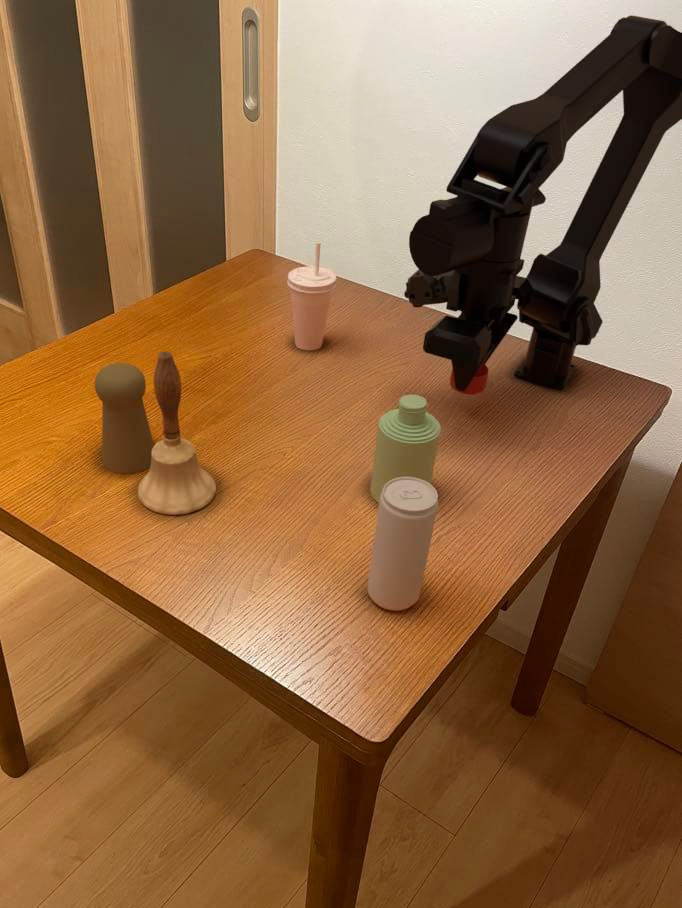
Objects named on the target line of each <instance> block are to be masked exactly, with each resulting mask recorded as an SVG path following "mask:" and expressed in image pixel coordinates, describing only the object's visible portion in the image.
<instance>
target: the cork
mask: <svg viewBox="0 0 682 908" xmlns="http://www.w3.org/2000/svg"><path fill="white" fill-rule="evenodd" d="M94 379H95V380H94V390H95V393H96V395H97V397H98V399H99V400H100V401H101V403H102V408H101V409H102V420H101V421H102V425H101V428H102V429H101V430H102V431H101V445H102V446H101V462H102V465H103V466H104V467H105V468H106V469H107V470H109V471H111V472H113V473H116V474H122V475H123V474H124V475H130V474H137V473H141V472H144V471H146V470H147V469H150V467H151V457H152V455H151V453H152V449H153V447H154V445H155V443H154V439H153V435H152V433H151V428H150V423H149V420H148V416H147V412H146V408H145V405H144V401H143V397H144V396H145V394H146V388H147V386H146V378H145V375H144V374H143V372H142V371H141V369H140V368H138V367H137V366H136V365H133V364H130V363H127V362H116V363H111V364H107V365H106V366H103V367H102V368H100V369H99V371H98V372H97V373H96V376H95V378H94Z"/></svg>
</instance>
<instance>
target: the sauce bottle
mask: <svg viewBox="0 0 682 908" xmlns="http://www.w3.org/2000/svg"><path fill="white" fill-rule="evenodd" d="M427 409H428V401H427V399H426V398H425V397H423V396H421V395H418V394H411V393H410V394H406V395H405V394H404V395H403V396H401V398H399V399H398V408H394V409H391V410H388V411H387V412H385V413H384V414H383V415H381V416H380V417H379V420H378V425H377V433H376V439H375V440H376V441H375V447H374V449H375V450H374V455H373V456H374V457H373V464H372V472H371V480H370V488H369V491H370V495H371V497H372V498H373V500H374V501H375V502H377V503H378V504H379V501H380V496H381V493H382V491H383V488H384V486H385V484H386V483H387V482H389V481H390V480H392V479H395V478H398V477H414V478H419V479H421V480H424V481H426V482H428V483H429V484H431V485H432V479H433V475H434V474H433V473H434V469H435V465H436V464H435V463H436V458H437V452H438V448H439V443H440V437H441V433H442V432H441V431H442V427H441V424H440V422H439V420H438V419H436V417H434V416H433V415H432V414H430V413H429V412H426V410H427Z"/></svg>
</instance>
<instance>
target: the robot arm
mask: <svg viewBox="0 0 682 908" xmlns="http://www.w3.org/2000/svg"><path fill="white" fill-rule="evenodd" d="M621 92H622V105H623V106H622V107H623V115H622V117H621V119H620V122H619V124H618V126H617V128H616V129H615V132H614V134H613V136H612V138H611V140H610V142H609V145H608V146H607V148H606V150H605V153H604V154H603V157H602V158H601V161H600V162H599V165H598V166H597V169H596V171H595V173H594V175H593V177H592V179H591V181H590V183H589V185H588V187H587V189H586V191H585V194H584V195H583V197H582V199H581V201H580V204H579V205H578V208H577V210H576V212H575V214H574V216H573V218H572V220H571V221H570V224H569V226H568V228H567V230H566V232H565V234H564V237H563V239H562V240H561V242H560V244H559V245H558V246H556V247H555V248H554V249H552V250H551V251H549V252H548V253H547V254H543V253H539V254H538V255H537V256H535V258H534V259H533V261H532V264H531V266H530V269H529V271H528V274H527V276H526V277H524V276H520V275H519V274H520V272H521V271H522V270H523V269H524V265H525V259H524V258H522V253H523V249H524V244H525V240H526V236H527V232H528V226H529V222H530V219H531V213H532V210H533V207H537V206H541V205H543V204H544V203H545V202H546V200H547V197H546V196H545V195H544V193H543V192H542V191H541V189H540V188H541V187H542V186H543V184H544V183H545V182H546V181H547V180H548V179H549V178H550V177H551V175H552V174H553V173H554V172H555V171H556V170H557V169H558V167H559V166H560V165H561V164H562V163H563V161H564V158H565V153H566V148H567V145H568V142H569V141H570V140H571V138H572V137H574V135H575V134H576V133H578V131H579V130H580V129H581V128H583V127H584V126H585V125H586V124H587V123H588V122H589V121H590V120H592V119H593V118H594V117H595V116H596V115H597V114H598V113H599V112H600V111H602V109H604V108H605V107H606V106H608V104H609V103H610V102H611V101H613V100H614V99H615V98H616V97H617V96H618V95H619V94H620V93H621ZM681 120H682V32H681V31H679V30H677V29H675V28H674V27H673V26H671V25H669V24H668V23H667V22H666V21H665V20H662V19H661V20H660V19H655V18H651V17H650V18H649V17H643V16H637V15H628V16H627V17H624V16H623V17H622V18H619V19H618V20H617V21H616V23H615V24H614V25H613V27H612V29H611V31H610V34H608V35H607V36H606V37H605V38H604V39H603V40H602V41H601V42H600V43H598V44H597V45H596V46H595V47H594V48H593V49H591V50H590V51H589V53H587V54H586V55H585V56H584V57H583V58H581V59H580V60H579V61H578V62H576V64H575V65H573V66H572V67H571V68H570V69H569V70H568V71H567V72H565V74H563V76H561V77H560V78H559V79H558V80H557V81H556V82H554V83H553V84H552V85H551V86H550V87H549V88H548V89H546V90H545V92H543V93H542V94H540V95H539V96H537V97H536V98H534V99H533V98H532V99H530V100H525V101H522V102H519V103H515V104H511V105H510V106H508V107H507V108H505V109H503V110H502V111H500V112H499V113H497V114H495V115H494V116H492V117H491V118H489V119H488V120H486V122H485V123H484V124H483V125H482V126H481V128H480V129H479V130H478V132H477V134H476V136H475V138H474V140H473V141H472V143H471V145H470V146H469V148H468V150H467V151H466V153H465V155H464V157H463V159H462V160H461V162H460V164H459V165H458V167H457V169H456V170H455V173H454V174H453V176H452V177H451V179H450V180H449V182H448V184H447V186H446V192H447V193H449V194H451V195H454V196H455V197H451V198H448V199H437V200H433V201H431V202H430V204H429V211H428V214H426V215H423V216H421V217H420V218H418V219H417V221H416V222H415V223H414V225H413V227H412V230H410V232H409V237H408V248H409V253H410V256H411V260H412V262H413V263H414V265H415V266H416V268H417V270H416V271H415V272H414V273H413V274H412V275H411V276H409V277H408V278H407V281H406V282H405V286H406V289H405V291H404V293H403V295H404V297H405V298H406V299H408V302H409V303H410V304H411V305H412V308H422V307H423V306H430V305H437V304H438V305H440V304H446V306H445V309H446V310H448V311H451V312H455V313H457V312H458V311H459V312H460V314H459V315H458V317H454V316H450V315H446V314H445V316H443V317H442V318H440V319H437V321H435V322H434V324H432V326H431V327H430V328H429V329H428V330H427V331H426V332H425V333H424V337H423V345H422V350H423V351H424V353H426V354H429V355H432V356H436V357H440V358H443V359H446V360H450V361H451V367H452V369H453V374H454V381H455V388H456V389H457V390H460V391H465V390H466V388H467V387H468V385H469V384H470V382H471V381H472V379H473V378H474V376H475V375H476V373H477V372H478V370H479V369H480V367H481V366H482V364H485V365H486V364H487V362H488V361H489V360H490V358H491V357H492V355H493V354H494V352H495V351H496V350H497V348H498V347H499V345H500V344H501V342H503V339H505V337H506V336H507V334H508V333H509V331H510V330H511V328H513V325H514V324H515V323H516V322H517V320H518V321H519V323H521V324H525V325H527V326H528V327H529V326H530V327H531V328H532V330H531V333H530V334H531V335H530V339H529V343H528V346H527V351H526V355H525V357H524V358H523V360H522V361H521V362H520V364H519V365H518V366H517V367H516V369H515V370H514V374H513V375H514V377H515V378H516V377H517V378H519V379H523V380H527V381H530V382H534V383H537V384H541V385H543V386H548V387H551V388H554V389H558V390H564V388H565V387H566V385H567V384H568V382H569V381H570V379H571V377H572V376H573V374H574V373H575V371H576V369H577V365H575V364H573V363H572V362H573V358H574V355H575V352H576V349H577V346H590V345H591V343H592V340H594V339H595V338H596V337H597V334H598V333H599V331H600V328H601V327H602V325H603V319H602V317H601V315H600V313H599V311H598V309H597V307H596V305H595V301H596V299H597V297H598V295H599V292H600V291H601V286H602V284H601V265H600V263H601V262H600V260H601V259H602V256H603V254H604V252H605V251H606V248H607V246H608V244H609V243H610V240H611V238H613V237H612V236H613V235H614V233H615V230H616V229H617V227H618V225H619V223H620V221H621V219H622V217H623V215H624V214H625V212H626V210H627V207H628V206H629V204H630V202H631V200H632V198H633V197H634V194H635V192H636V190H637V188H638V187H639V184H640V182H641V180H642V178H643V176H644V174H645V172H646V171H647V169H648V167H649V165H650V163H651V161H652V159H653V157H654V155H655V153H656V152H657V149H658V147H659V145H660V143H661V142H662V139H663V137H664V136H665V135H666V132H667V131H668V130H670V129H671V128H673V127H674V126H675V125H677V124H678V123H679V122H680V121H681ZM477 177H479V178H481V179H483V180H488V181H490V182H493V183H496V184H499V185H500V186H504V187H503V188H498V187H496V186H493V185H490V184H487V183H485V182H482V181H479V180H477V179H476V178H477ZM516 300H517V303H516ZM515 303H516V309H517V310H518V315H517V314H514V313H511V312H510V310H511V309H512V308H513V307H514V306H515Z"/></svg>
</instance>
